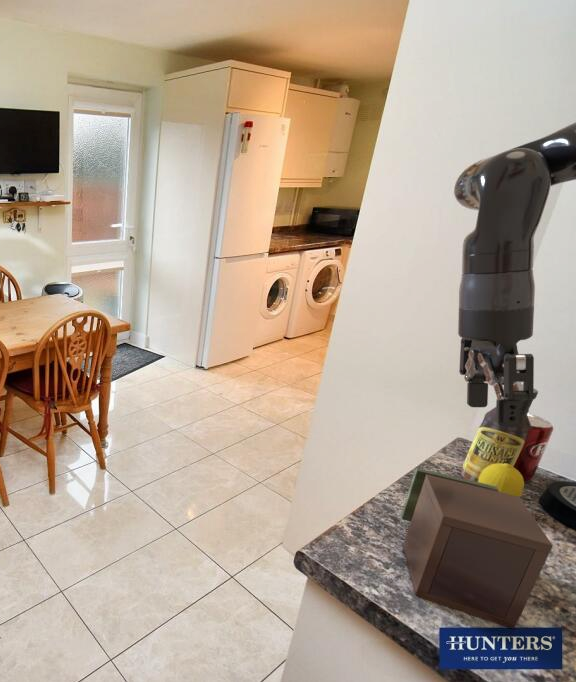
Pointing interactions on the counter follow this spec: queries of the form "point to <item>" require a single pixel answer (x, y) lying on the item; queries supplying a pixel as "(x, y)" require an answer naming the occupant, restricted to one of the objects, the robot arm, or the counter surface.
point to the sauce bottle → (496, 442)
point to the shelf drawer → (417, 487)
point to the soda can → (533, 447)
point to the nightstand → (474, 550)
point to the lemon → (503, 478)
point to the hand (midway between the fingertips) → (491, 415)
